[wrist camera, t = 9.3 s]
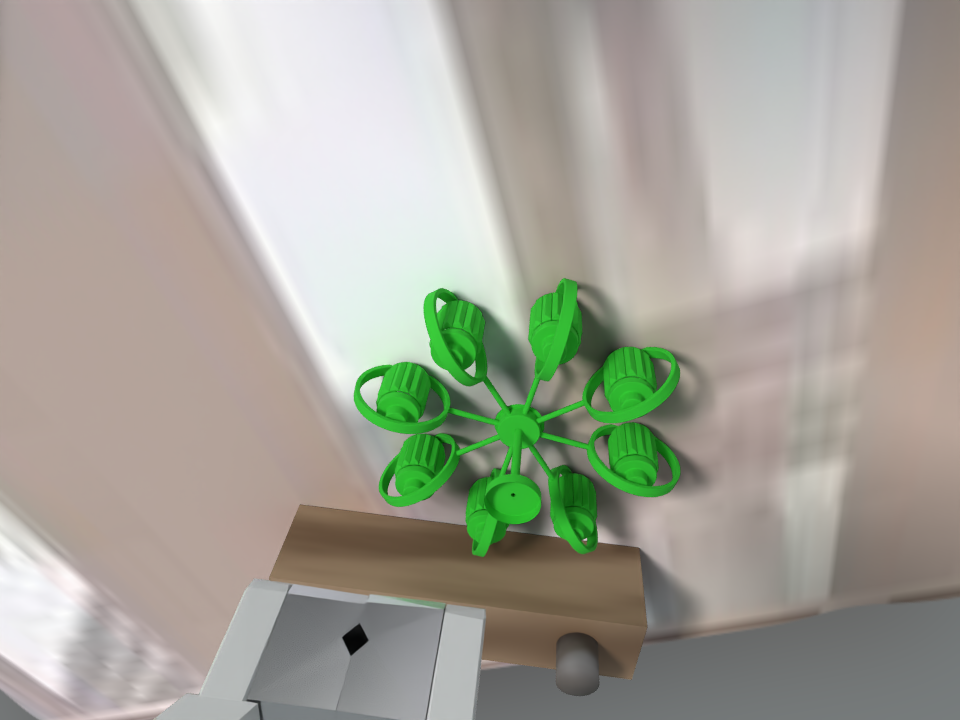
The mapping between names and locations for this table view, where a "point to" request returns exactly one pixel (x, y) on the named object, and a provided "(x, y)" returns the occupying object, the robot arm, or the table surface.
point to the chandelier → (521, 422)
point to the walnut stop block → (486, 586)
